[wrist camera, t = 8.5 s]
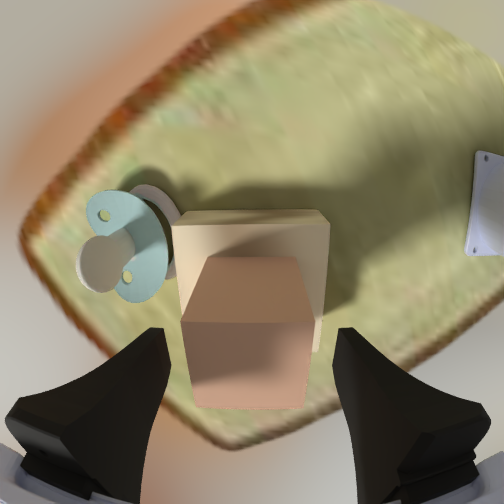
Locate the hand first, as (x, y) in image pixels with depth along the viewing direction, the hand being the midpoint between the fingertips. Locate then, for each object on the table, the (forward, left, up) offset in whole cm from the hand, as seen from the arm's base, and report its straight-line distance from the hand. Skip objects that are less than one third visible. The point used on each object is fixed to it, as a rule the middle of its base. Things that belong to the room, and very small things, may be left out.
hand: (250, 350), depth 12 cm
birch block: (0, 0, -8) cm, 8 cm away
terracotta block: (0, 0, -5) cm, 5 cm away
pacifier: (+7, -2, -9) cm, 11 cm away
